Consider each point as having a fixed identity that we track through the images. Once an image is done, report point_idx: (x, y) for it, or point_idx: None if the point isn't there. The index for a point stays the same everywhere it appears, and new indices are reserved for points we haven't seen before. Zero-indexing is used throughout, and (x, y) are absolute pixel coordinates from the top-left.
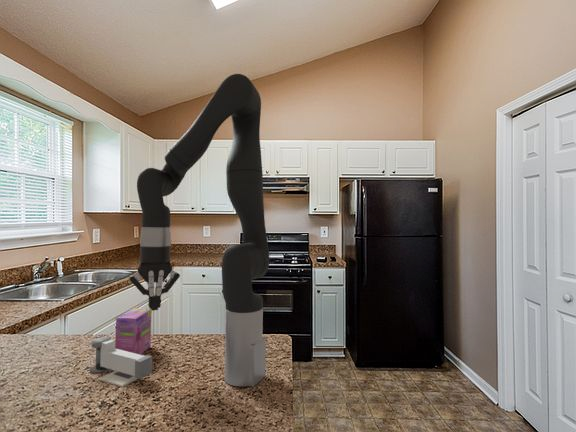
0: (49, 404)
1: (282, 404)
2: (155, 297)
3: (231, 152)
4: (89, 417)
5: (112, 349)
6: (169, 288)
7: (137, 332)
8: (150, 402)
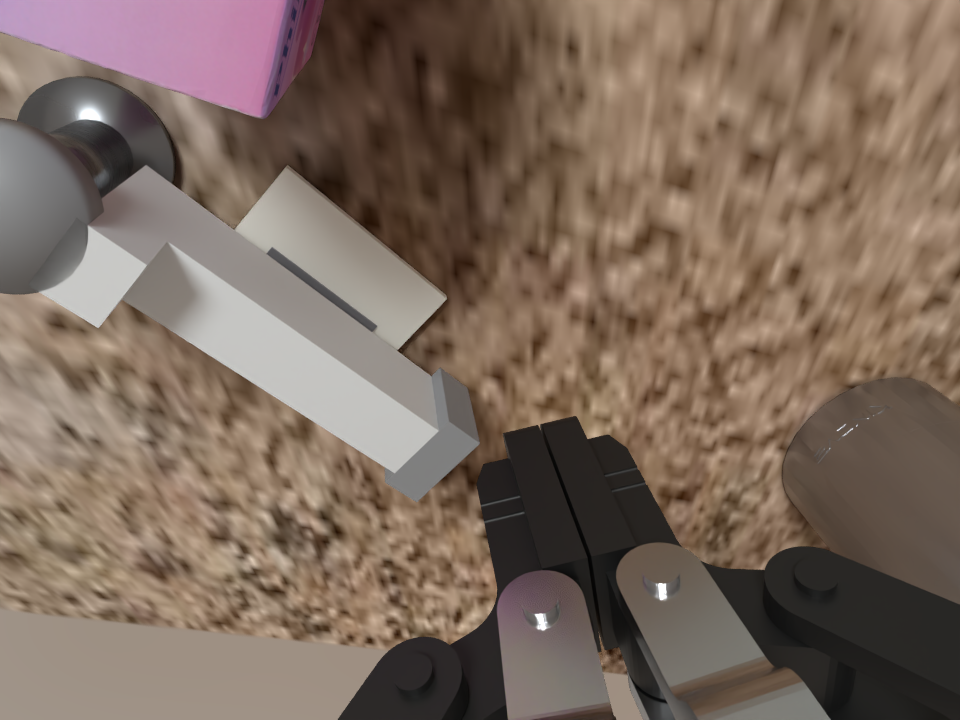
0: (36, 497)
1: None
2: (601, 635)
3: None
4: (267, 596)
5: (157, 263)
6: (882, 710)
7: (300, 35)
8: (473, 549)
